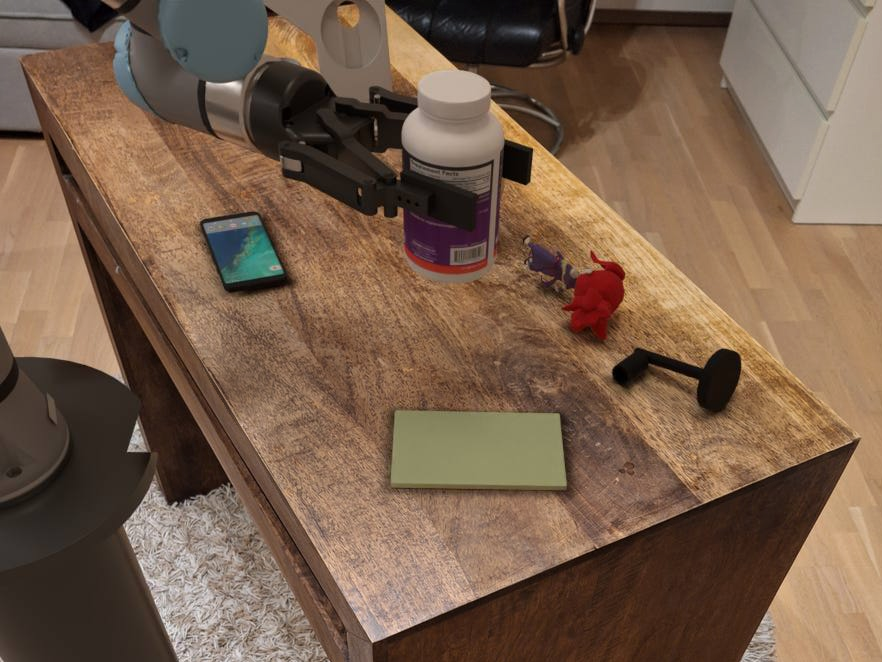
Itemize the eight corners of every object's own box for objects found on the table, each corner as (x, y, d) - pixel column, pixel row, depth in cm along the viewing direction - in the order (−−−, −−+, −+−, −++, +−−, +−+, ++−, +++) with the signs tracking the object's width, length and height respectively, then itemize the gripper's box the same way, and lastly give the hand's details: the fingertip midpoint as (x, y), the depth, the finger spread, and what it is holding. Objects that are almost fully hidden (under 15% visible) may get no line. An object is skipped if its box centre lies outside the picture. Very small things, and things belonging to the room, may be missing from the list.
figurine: (547, 257, 103) (647, 317, 97) (495, 299, 101) (595, 363, 95) (544, 208, 97) (651, 269, 92) (489, 252, 95) (595, 317, 90)
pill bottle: (434, 229, 82) (435, 52, 70) (512, 256, 80) (526, 79, 68) (386, 271, 78) (379, 90, 66) (467, 301, 76) (475, 119, 64)
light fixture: (576, 423, 91) (653, 365, 96) (662, 457, 85) (739, 394, 91) (573, 370, 87) (654, 313, 92) (664, 403, 81) (744, 340, 86)
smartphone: (258, 209, 107) (289, 278, 99) (259, 215, 107) (290, 284, 99) (197, 218, 105) (224, 289, 97) (199, 225, 106) (225, 295, 97)
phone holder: (276, 144, 118) (254, -18, 103) (268, 108, 123) (245, -50, 109) (407, 133, 121) (402, -26, 106) (392, 99, 126) (386, -56, 112)
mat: (390, 487, 82) (390, 483, 81) (395, 414, 87) (395, 409, 87) (566, 490, 82) (567, 485, 82) (559, 418, 88) (559, 413, 88)
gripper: (349, 111, 86) (559, 182, 79) (200, 203, 75) (430, 295, 69) (343, 20, 80) (569, 90, 73) (180, 107, 69) (431, 198, 62)
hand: (502, 189), depth 71 cm, fingers closed on pill bottle, 8 cm apart
